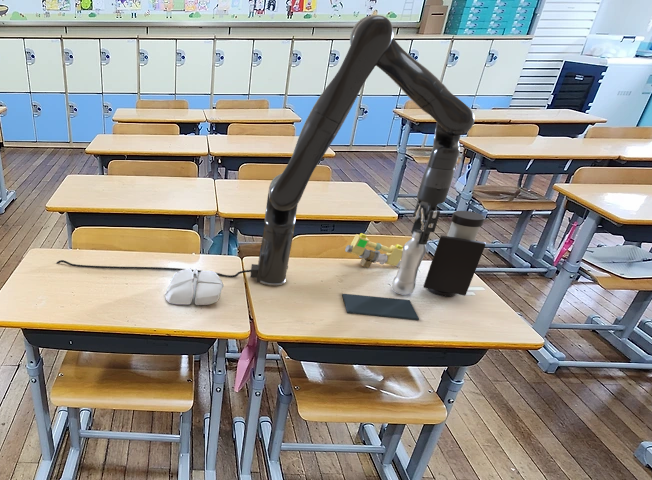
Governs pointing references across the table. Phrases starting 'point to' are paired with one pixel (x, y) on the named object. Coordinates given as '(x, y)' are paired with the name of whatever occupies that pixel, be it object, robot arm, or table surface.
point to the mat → (379, 306)
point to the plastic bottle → (409, 265)
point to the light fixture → (456, 256)
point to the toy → (374, 252)
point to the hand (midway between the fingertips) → (418, 238)
